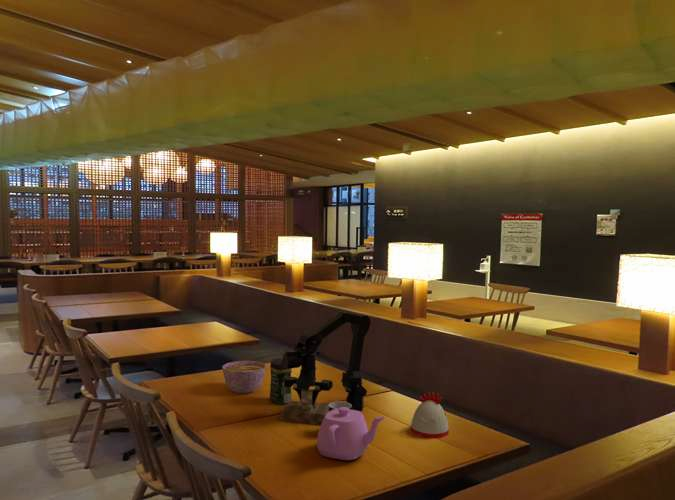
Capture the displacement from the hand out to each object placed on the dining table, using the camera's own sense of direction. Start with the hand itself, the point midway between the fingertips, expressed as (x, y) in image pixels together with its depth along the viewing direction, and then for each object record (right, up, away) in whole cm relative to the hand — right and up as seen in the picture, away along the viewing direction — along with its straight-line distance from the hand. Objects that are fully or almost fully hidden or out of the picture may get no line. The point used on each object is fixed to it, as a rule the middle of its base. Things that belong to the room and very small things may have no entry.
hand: (307, 404), depth 211 cm
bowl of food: (-31, -3, +33) cm, 45 cm away
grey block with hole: (0, -5, 0) cm, 5 cm away
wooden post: (0, -3, 0) cm, 3 cm away
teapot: (+14, -7, -32) cm, 36 cm away
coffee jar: (-13, -4, +19) cm, 23 cm away
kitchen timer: (+46, -7, -12) cm, 48 cm away
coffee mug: (+14, -6, -14) cm, 20 cm away
